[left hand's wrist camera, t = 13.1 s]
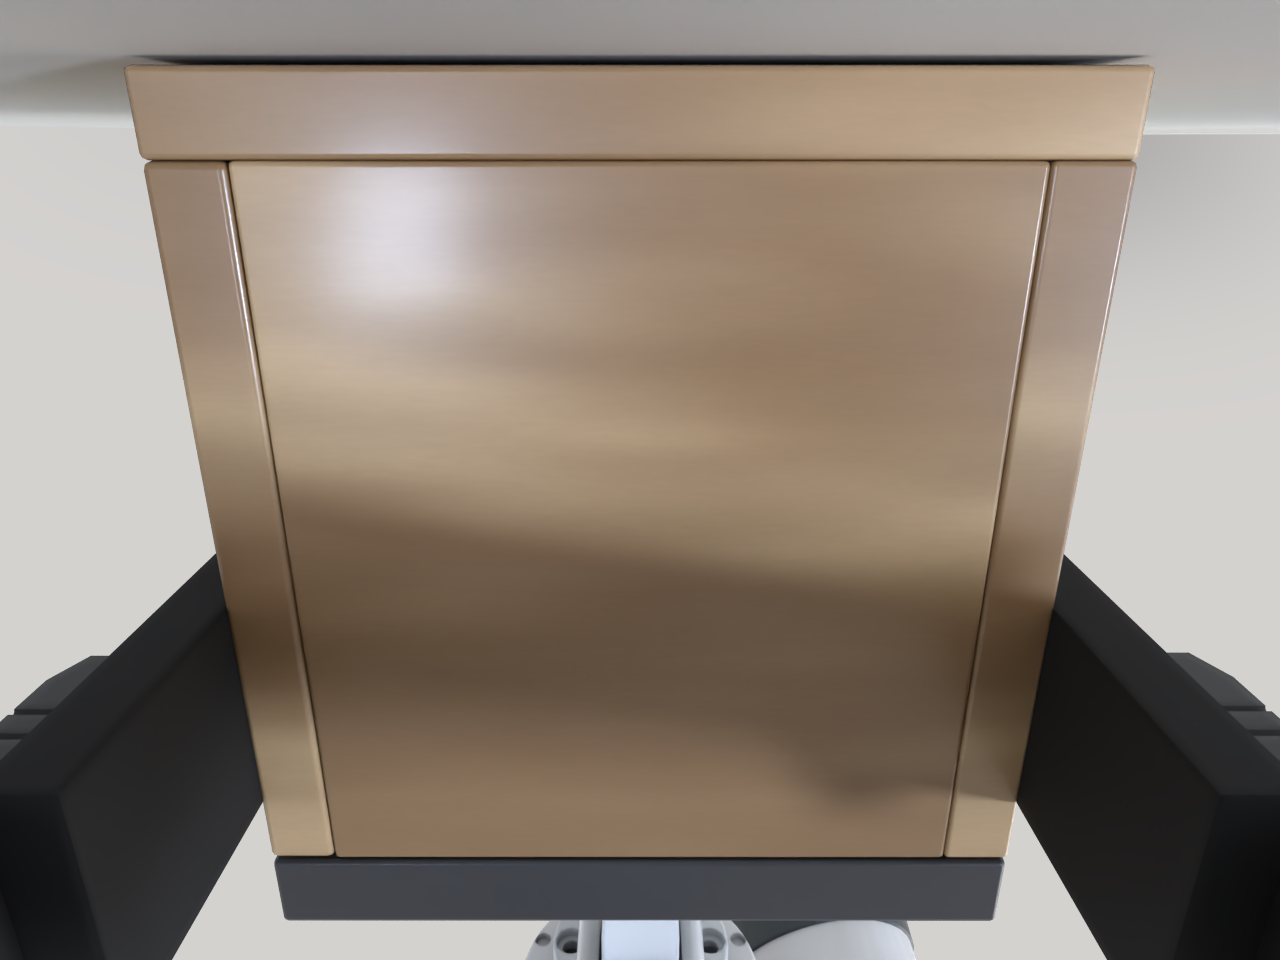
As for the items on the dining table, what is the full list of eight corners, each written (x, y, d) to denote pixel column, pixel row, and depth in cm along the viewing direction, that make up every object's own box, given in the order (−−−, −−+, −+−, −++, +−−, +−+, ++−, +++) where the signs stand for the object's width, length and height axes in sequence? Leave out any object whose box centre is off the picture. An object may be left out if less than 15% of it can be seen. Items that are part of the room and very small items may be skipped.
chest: (817, 118, 23) (795, 446, 26) (462, 118, 23) (484, 446, 26) (1159, 63, 8) (1008, 858, 11) (118, 63, 8) (270, 858, 11)
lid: (790, 439, 27) (775, 677, 30) (488, 439, 27) (504, 676, 30) (1007, 862, 11) (928, 1277, 14) (270, 862, 11) (350, 1277, 14)
